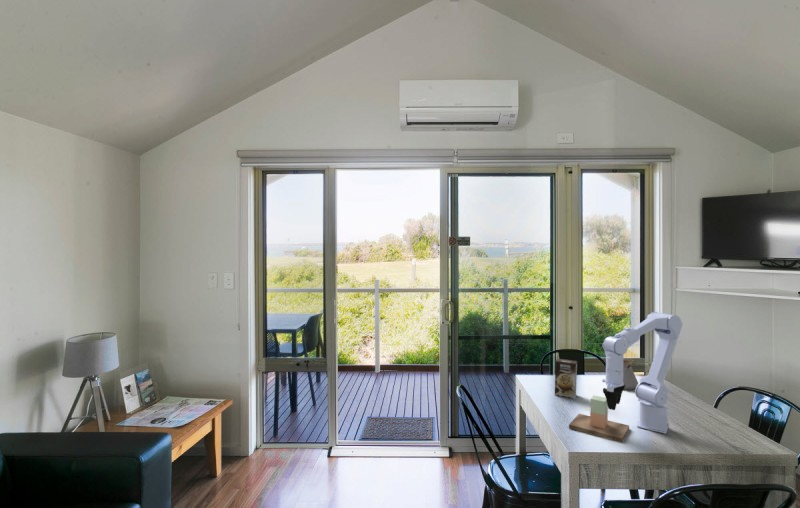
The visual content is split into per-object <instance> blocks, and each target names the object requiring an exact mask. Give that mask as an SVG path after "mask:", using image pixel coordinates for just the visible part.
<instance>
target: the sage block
mask: <svg viewBox="0 0 800 508" xmlns="http://www.w3.org/2000/svg"><path fill="white" fill-rule="evenodd" d="M589 411H590V412H592V413H597V414H601V415H606V413H607V412H608V411H609V408H608V405H607V400H606V397H603V396H598V395H594V394H593V396H592V397H591V398H590V409H589ZM590 412H589V413H590ZM608 413H609V412H608Z"/></svg>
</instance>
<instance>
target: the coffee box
mask: <svg viewBox="0 0 800 508" xmlns="http://www.w3.org/2000/svg"><path fill="white" fill-rule="evenodd" d="M554 367H555V368H554V369H555V370H554V374H555V375H554V396H557V395H559V396H558V397H562V396H565V397H564V398H568V397H571V398H570V399H574V398H575V399H576V396H577V379H578V378H577V376H578V373H577V371H578V361H577V360H571V359H564V358H558V357H557V358H556V360H555V366H554Z"/></svg>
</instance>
